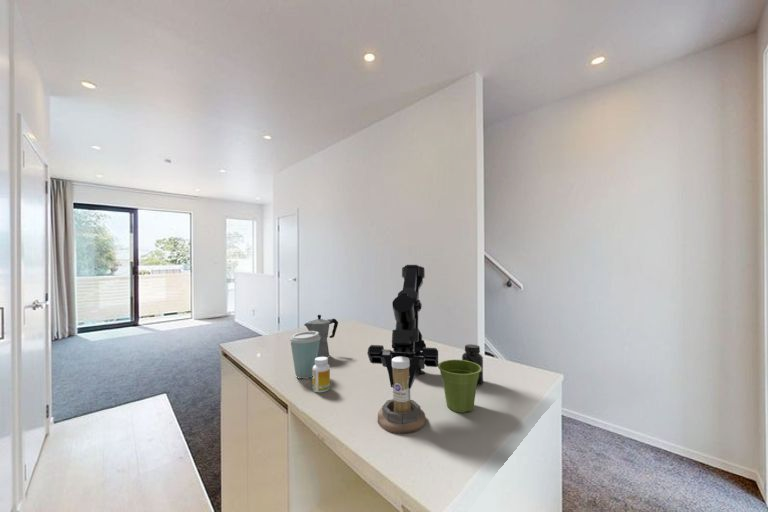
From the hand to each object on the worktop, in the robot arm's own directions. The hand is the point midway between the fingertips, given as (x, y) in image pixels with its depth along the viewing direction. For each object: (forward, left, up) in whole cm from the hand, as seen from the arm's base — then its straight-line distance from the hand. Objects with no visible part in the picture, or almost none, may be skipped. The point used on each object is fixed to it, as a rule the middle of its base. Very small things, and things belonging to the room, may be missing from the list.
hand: (400, 387), depth 75 cm
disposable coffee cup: (-42, -17, -9) cm, 46 cm away
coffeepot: (-62, -8, -9) cm, 63 cm away
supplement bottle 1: (-28, -14, -9) cm, 33 cm away
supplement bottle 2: (-14, +34, -9) cm, 38 cm away
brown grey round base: (-1, +1, -9) cm, 9 cm away
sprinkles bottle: (-1, +1, -7) cm, 7 cm away
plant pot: (-1, +19, -9) cm, 21 cm away
